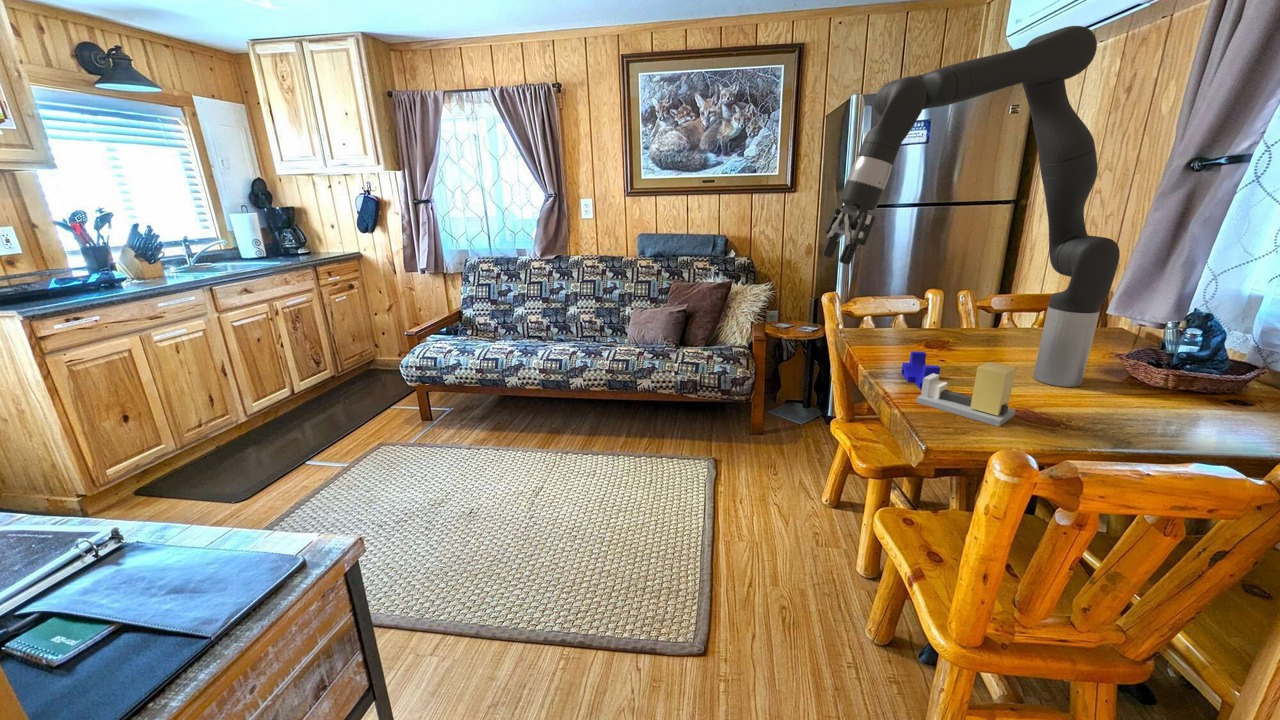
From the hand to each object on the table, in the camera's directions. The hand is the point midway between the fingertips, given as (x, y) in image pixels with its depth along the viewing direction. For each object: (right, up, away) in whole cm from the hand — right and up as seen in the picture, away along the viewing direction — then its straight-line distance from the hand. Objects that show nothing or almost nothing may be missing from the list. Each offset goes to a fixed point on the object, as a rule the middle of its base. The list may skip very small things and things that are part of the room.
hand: (835, 260), depth 116 cm
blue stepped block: (+24, -27, +12) cm, 38 cm away
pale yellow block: (+29, -31, -7) cm, 43 cm away
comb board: (+26, -32, -3) cm, 41 cm away
